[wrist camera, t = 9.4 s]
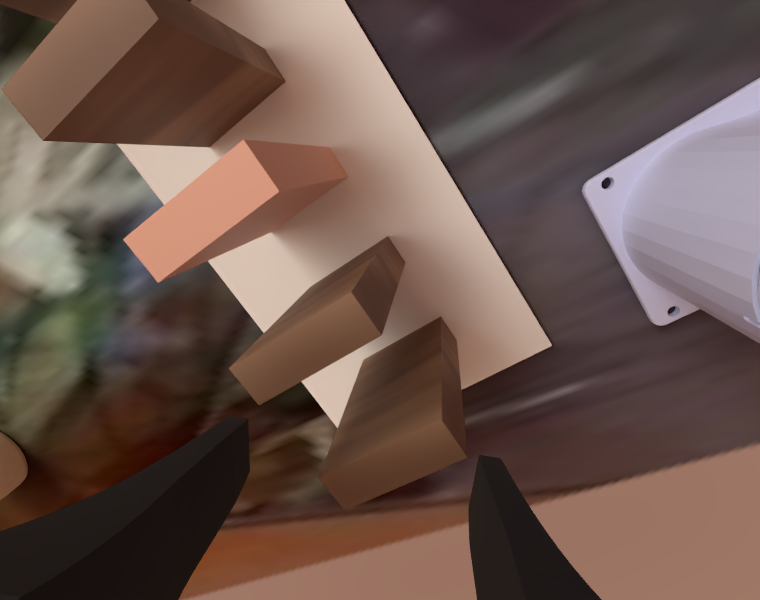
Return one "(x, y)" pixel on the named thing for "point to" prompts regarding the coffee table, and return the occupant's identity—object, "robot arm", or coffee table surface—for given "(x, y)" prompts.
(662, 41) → the coffee table surface
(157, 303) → the coffee table surface
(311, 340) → the tile
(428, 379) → the tile
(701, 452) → the coffee table surface
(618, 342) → the coffee table surface
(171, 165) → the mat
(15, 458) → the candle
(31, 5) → the tile
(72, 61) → the tile
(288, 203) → the tile
